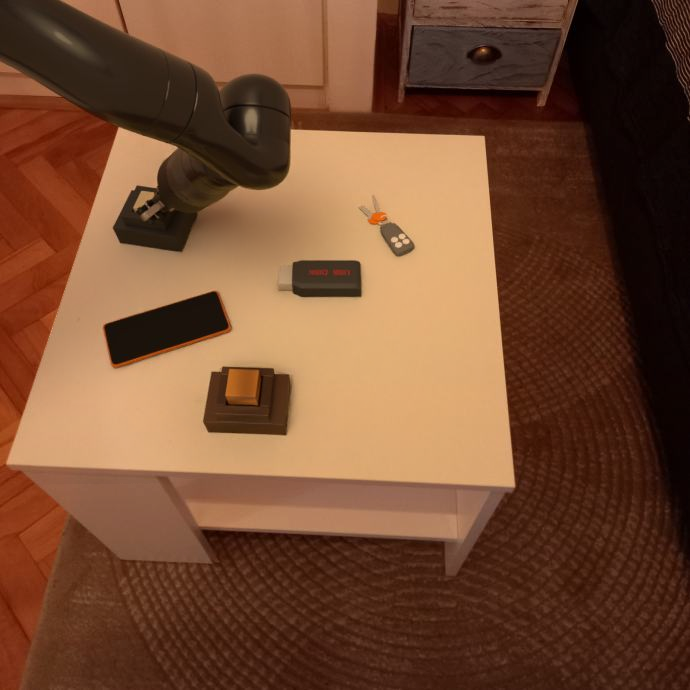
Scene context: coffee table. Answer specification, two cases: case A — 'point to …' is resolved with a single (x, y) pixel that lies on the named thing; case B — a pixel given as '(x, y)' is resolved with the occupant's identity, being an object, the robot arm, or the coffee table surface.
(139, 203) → the back key
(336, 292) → the usb drive
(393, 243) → the key chain
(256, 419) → the front block
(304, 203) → the coffee table surface
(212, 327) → the smartphone
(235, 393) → the front key
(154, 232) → the block
